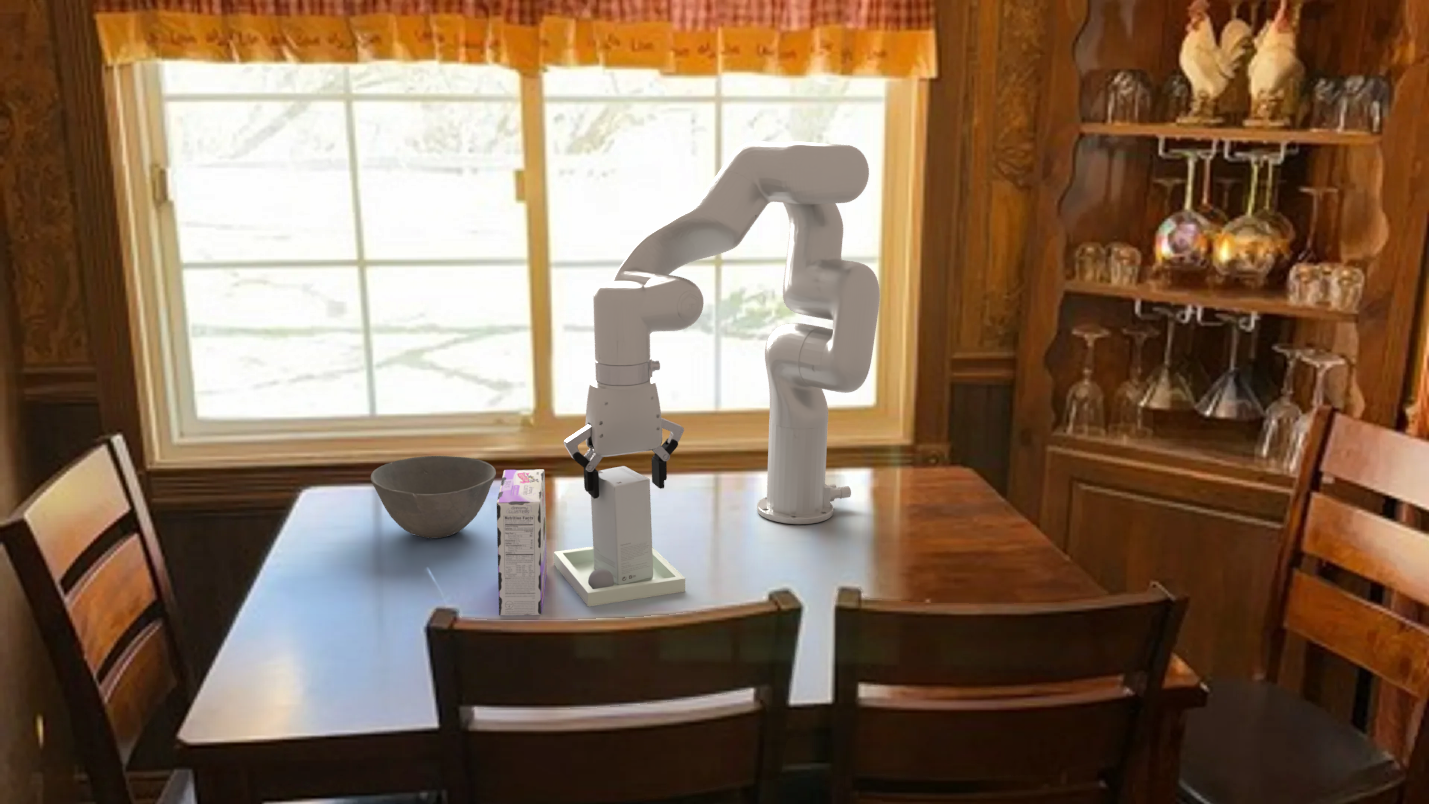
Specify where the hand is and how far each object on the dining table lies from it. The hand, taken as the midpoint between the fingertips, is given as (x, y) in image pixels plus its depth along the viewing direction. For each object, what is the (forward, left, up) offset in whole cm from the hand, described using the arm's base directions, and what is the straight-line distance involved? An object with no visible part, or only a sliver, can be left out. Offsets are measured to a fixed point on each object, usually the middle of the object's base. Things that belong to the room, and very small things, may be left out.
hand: (626, 490), depth 172 cm
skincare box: (+1, 0, -13) cm, 13 cm away
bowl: (+22, -27, -13) cm, 37 cm away
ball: (+6, +6, -12) cm, 15 cm away
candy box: (+16, +2, -13) cm, 21 cm away
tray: (+2, +1, -13) cm, 13 cm away
